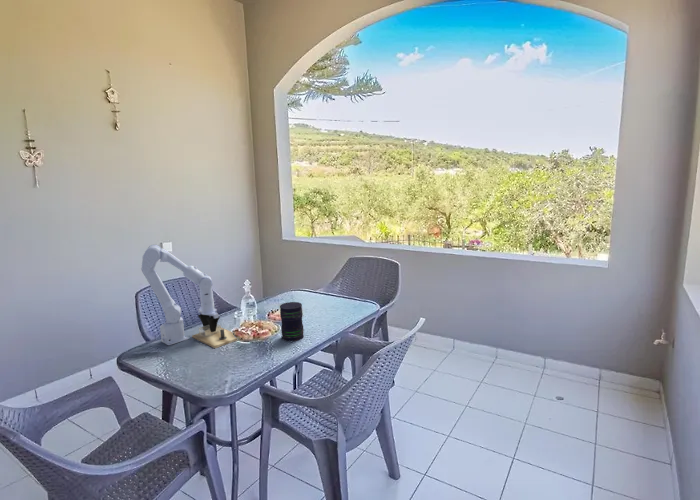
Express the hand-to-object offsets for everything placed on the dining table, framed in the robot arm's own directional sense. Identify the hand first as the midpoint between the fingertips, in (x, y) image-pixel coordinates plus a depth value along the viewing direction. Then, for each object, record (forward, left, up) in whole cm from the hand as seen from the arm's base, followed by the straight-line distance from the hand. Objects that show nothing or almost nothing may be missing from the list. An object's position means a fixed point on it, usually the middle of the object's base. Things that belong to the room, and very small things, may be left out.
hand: (210, 330), depth 201 cm
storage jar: (+22, -33, -3) cm, 40 cm away
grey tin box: (0, 0, -1) cm, 1 cm away
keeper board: (0, -6, -2) cm, 6 cm away
